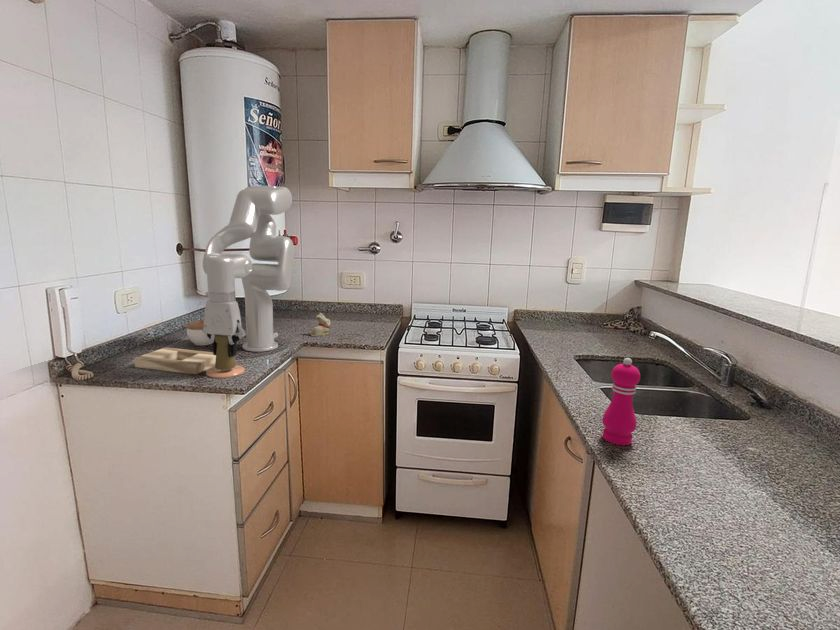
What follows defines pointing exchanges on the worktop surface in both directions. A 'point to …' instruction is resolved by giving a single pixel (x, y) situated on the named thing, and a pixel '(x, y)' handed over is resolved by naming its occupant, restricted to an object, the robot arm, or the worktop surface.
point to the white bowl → (197, 333)
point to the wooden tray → (177, 360)
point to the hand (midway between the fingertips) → (225, 354)
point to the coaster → (225, 372)
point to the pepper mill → (621, 405)
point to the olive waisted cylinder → (223, 353)
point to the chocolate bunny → (321, 325)
